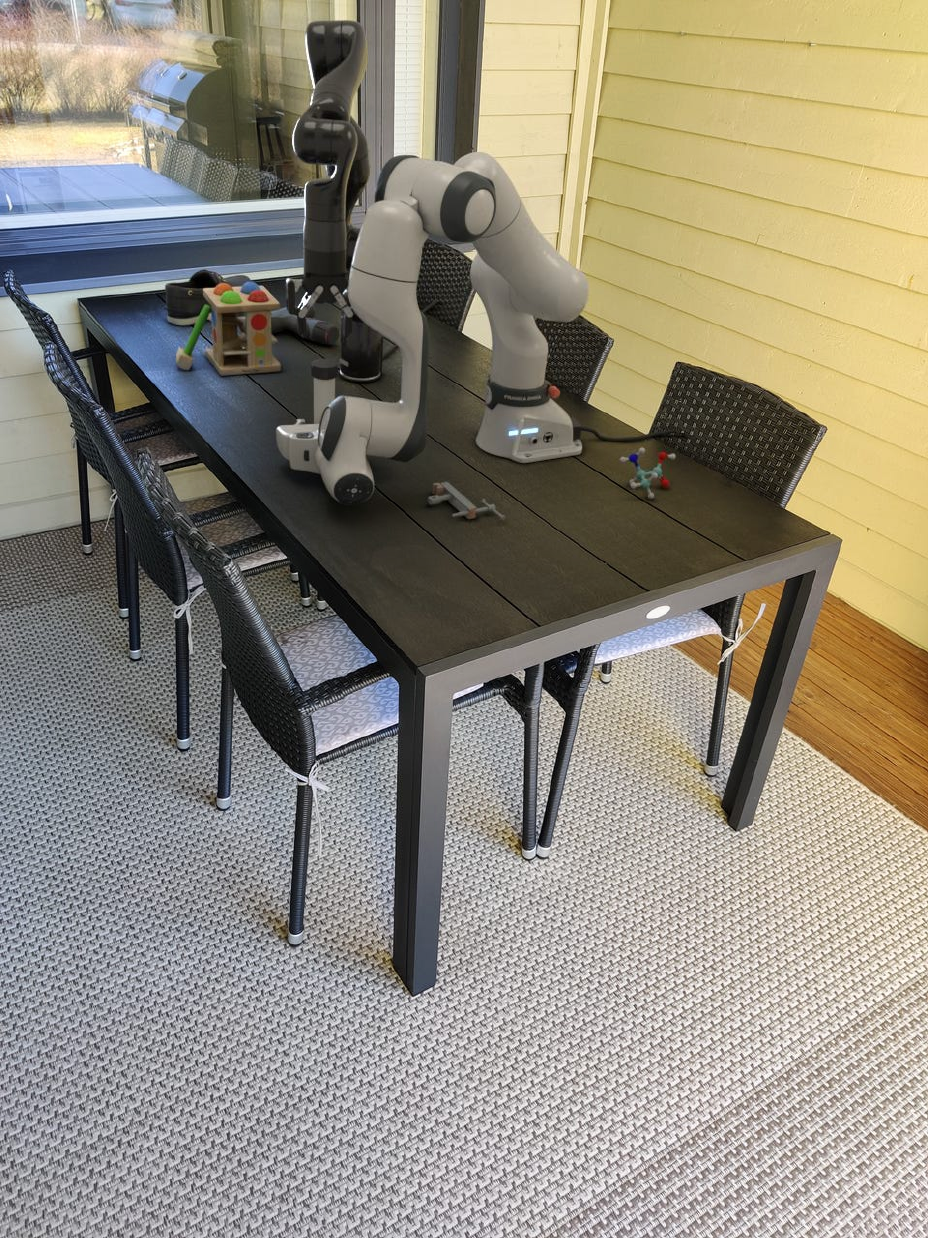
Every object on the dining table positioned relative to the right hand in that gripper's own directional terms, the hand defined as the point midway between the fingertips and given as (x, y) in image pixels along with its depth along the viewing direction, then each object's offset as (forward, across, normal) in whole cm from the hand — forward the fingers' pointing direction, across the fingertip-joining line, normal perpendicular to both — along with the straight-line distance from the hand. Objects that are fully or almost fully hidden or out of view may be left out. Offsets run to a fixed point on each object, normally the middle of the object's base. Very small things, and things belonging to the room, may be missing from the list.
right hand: (323, 421), depth 192 cm
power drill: (+70, -9, +7) cm, 71 cm away
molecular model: (-24, -59, +7) cm, 64 cm away
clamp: (-28, -20, +6) cm, 35 cm away
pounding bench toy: (+49, +14, +6) cm, 52 cm away
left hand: (-1, 0, -17) cm, 17 cm away
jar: (-1, 0, +6) cm, 7 cm away
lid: (-1, 0, -12) cm, 12 cm away
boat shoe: (+91, +14, +7) cm, 92 cm away
